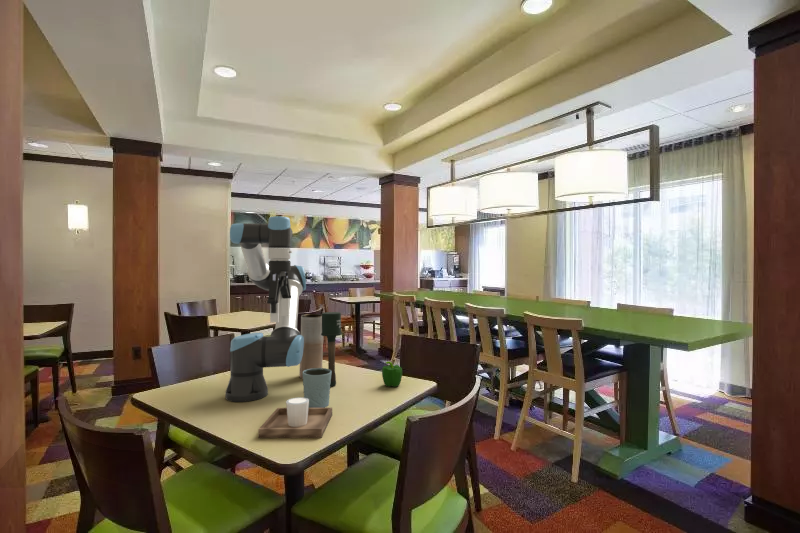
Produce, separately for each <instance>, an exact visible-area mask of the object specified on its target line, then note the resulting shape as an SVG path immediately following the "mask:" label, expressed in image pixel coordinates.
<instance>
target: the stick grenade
mask: <svg viewBox="0 0 800 533" xmlns="http://www.w3.org/2000/svg"><path fill="white" fill-rule="evenodd" d="M321 315H322V333H321V335H322V336H323V337H326V339H327V340H326V341H327V352H328V353H327V354H328V356H327V357H328V358H327V359H328V360H327V362H328V365H327V366H328V368H327V369H329V370H331V371H332V373H331V384H330V388H332V387H335V386H336V385H337V379H336V378H337V376H336V354H335V353H336V338H337V337H338V336H341V335H343V333H342V313H341V312H339V311H330V312H329V311H327V312H322V313H321Z"/></svg>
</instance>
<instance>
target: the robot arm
mask: <svg viewBox="0 0 800 533" xmlns="http://www.w3.org/2000/svg"><path fill="white" fill-rule="evenodd" d="M293 236H294V235H293V230H292V228H291V218H290V217H289V216H275V215H274V216H270V217H268V223H244V222H241V223H240V222H239V223H238V222H237V223H232V224H231V225H230V229H229V238H230V242H231V243H232V244H237V245H239V247H240V249H241V252H242V254H243V257H244V260H245V264H246V266H247V269H246V270H247V271H246V272H247V276H248V278H249V280H250V281H251V282H252V284H254V285H255V286H257V287H258V288H260V289H263V290H264V291H268V295H267V296H268V298H267V301H266V302H267V304H269V310H270V311H269V322H270V323H275V327H274V329H273V330H272V331H271V333H270V336H264V333H262V332H251V333H245V334H241V335H238V336H235V337H233V338H232V339H231V341H230V348H229V352H230V355H229V357H230V360H229V362H230V365H229V366H230V367H229V368H230V377H229V381H228V383H227V386H226V390H225V399H226V400H227V401H229V402H235V403H237V402H238V403H243V402H251V401H257V400H260V399H263V398H265V397H267V396H268V394H269V388H268V384H267V380H266V379H265V375H264V368H279V367H287V368H288V367H289V368H290V367H296V366H300V362H301V360H302V356H303V348H304V337H303V336H302V335H301V331H299V330H298V320H299V319H298V317H299V316H298V315H299V302H300V301H299V300H300V299H299V297H300V296H301V295H302V293H303V292H304V291H306V290H307V280H306V272H305V268H304V266H302V265H296V264H294V265H291V261H290V260H291V254H293V251H292V250H291V241H292V239H293ZM262 244H263V245H265V244H268V259H269V261H268V263H267V262H266V259H265V258H266V257H265V254H264V251H263V247H262Z"/></svg>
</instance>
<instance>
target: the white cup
mask: <svg viewBox="0 0 800 533" xmlns="http://www.w3.org/2000/svg"><path fill="white" fill-rule="evenodd" d="M285 404H286V408H287V416H288V425H289V426H292V427H299V426H303V425H305V424H307V418H308V406H309V399H308V398H304V396H303V397H300V396H299V397H292V398H289V399H287V400H286V401H285Z"/></svg>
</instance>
